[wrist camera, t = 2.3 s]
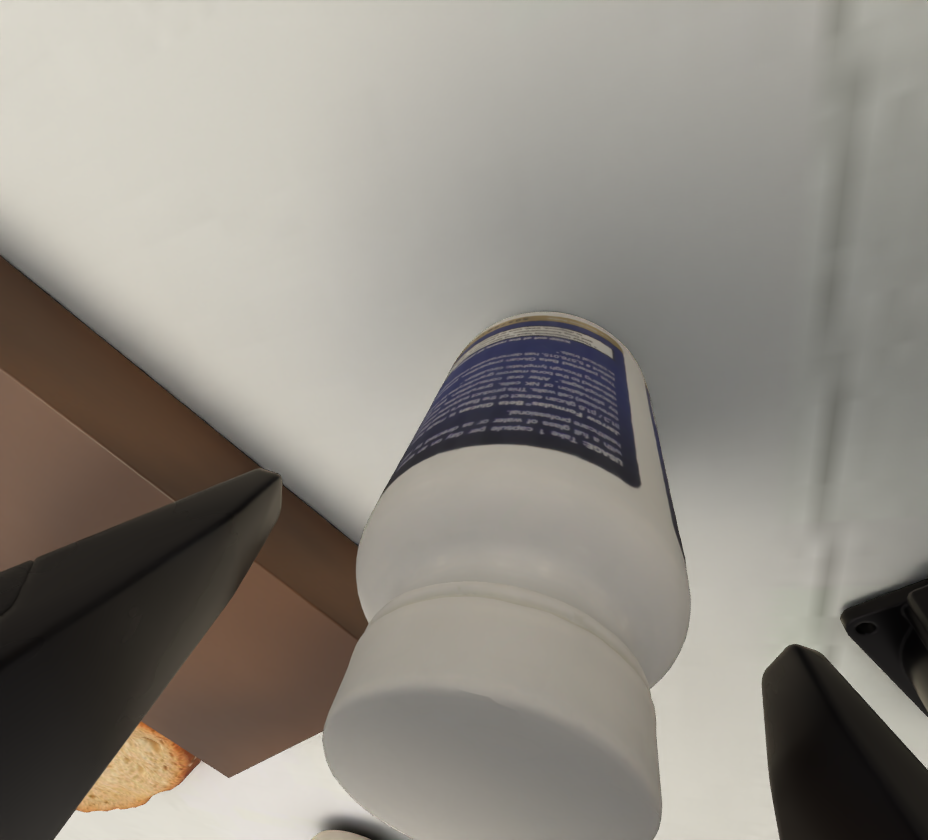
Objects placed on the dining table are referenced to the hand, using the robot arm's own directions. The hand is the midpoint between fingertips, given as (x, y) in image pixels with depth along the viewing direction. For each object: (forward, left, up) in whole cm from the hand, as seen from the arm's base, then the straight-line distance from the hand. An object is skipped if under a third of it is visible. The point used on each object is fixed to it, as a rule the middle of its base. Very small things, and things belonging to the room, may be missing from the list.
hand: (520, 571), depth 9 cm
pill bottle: (0, 0, -7) cm, 7 cm away
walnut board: (+6, +16, -6) cm, 18 cm away
